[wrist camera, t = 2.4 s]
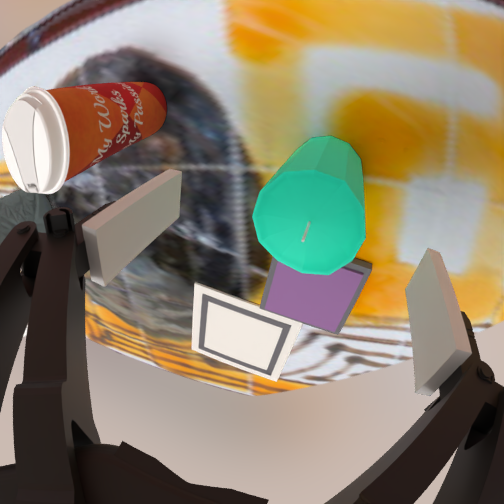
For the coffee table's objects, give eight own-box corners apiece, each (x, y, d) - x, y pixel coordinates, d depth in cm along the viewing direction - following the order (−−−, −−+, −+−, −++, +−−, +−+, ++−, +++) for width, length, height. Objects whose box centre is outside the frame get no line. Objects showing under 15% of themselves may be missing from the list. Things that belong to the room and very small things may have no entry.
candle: (373, 192, 23) (382, 276, 14) (309, 213, 26) (274, 302, 17) (345, 124, 21) (338, 158, 12) (279, 151, 24) (220, 205, 14)
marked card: (303, 320, 33) (303, 322, 32) (277, 380, 40) (276, 382, 40) (195, 281, 35) (194, 283, 35) (192, 347, 42) (191, 349, 42)
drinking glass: (41, 241, 43) (-8, 279, 34) (17, 191, 39) (-36, 223, 30) (65, 227, 39) (6, 271, 29) (37, 168, 35) (-27, 203, 25)
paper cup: (180, 143, 26) (65, 202, 15) (120, 148, 29) (12, 201, 17) (173, 63, 22) (42, 74, 11) (111, 78, 25) (-7, 105, 13)
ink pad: (371, 263, 27) (371, 272, 25) (339, 328, 32) (337, 337, 31) (280, 233, 28) (276, 240, 27) (261, 302, 33) (258, 310, 32)
